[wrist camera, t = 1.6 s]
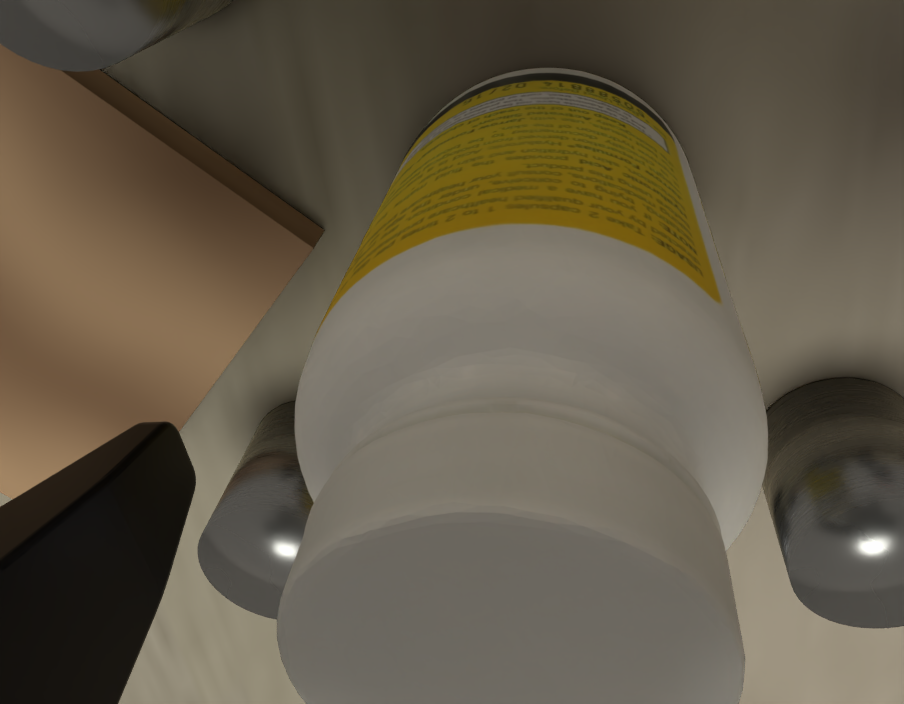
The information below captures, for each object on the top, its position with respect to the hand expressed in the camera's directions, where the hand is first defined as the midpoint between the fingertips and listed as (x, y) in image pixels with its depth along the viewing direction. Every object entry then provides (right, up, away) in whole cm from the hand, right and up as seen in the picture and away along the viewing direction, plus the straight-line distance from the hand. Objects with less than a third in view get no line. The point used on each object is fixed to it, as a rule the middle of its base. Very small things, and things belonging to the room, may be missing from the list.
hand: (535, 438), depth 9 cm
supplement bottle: (+1, +4, +6) cm, 7 cm away
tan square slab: (-11, +3, +8) cm, 14 cm away
